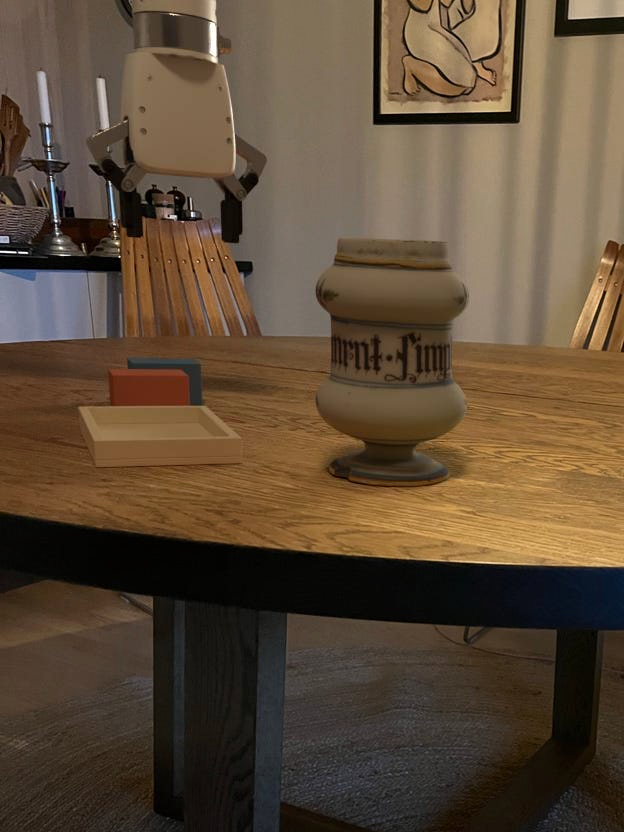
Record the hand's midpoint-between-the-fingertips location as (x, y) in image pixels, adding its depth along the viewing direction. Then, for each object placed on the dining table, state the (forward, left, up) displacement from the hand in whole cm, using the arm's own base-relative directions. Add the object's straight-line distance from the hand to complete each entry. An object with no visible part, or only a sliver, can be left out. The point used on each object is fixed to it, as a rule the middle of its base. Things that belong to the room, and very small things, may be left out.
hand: (183, 240), depth 102 cm
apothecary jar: (+34, -6, -17) cm, 38 cm away
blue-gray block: (-5, +1, -17) cm, 17 cm away
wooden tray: (+14, -14, -17) cm, 26 cm away
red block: (+2, -6, -17) cm, 18 cm away
